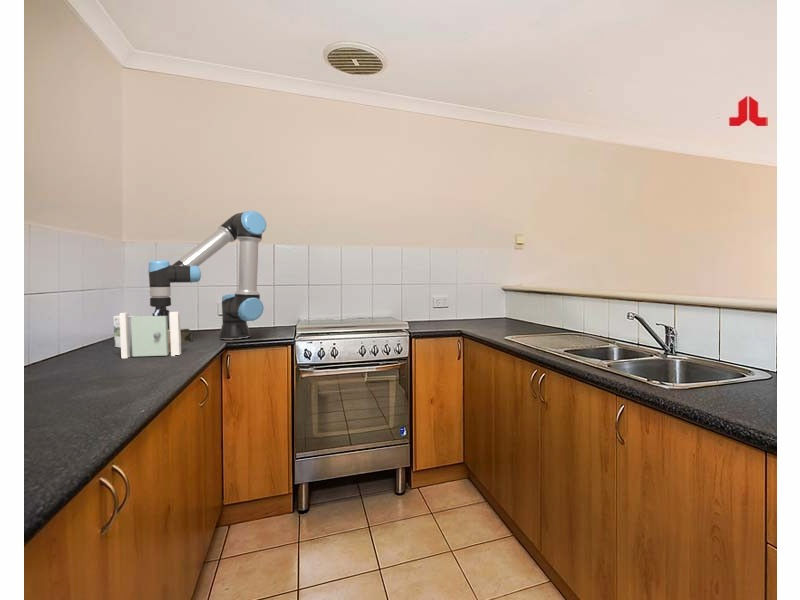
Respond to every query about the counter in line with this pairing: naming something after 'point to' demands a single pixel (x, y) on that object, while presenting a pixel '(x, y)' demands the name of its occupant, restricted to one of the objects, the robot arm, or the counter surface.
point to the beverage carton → (186, 335)
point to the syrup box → (118, 330)
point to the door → (148, 335)
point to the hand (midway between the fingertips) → (162, 350)
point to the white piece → (174, 334)
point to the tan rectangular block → (169, 341)
